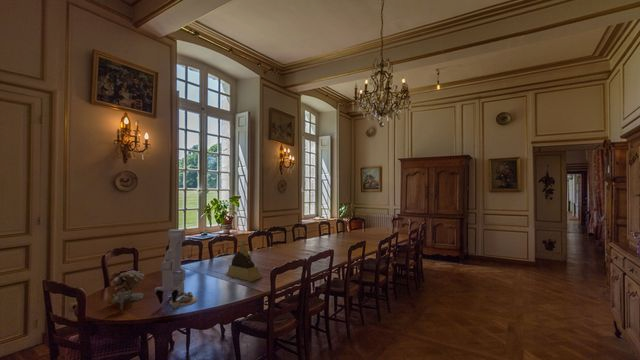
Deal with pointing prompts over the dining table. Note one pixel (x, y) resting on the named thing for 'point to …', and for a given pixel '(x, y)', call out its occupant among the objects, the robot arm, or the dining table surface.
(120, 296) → the mechanical component
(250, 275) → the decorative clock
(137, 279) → the cherub figurine
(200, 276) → the dining table surface
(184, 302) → the flange plate
